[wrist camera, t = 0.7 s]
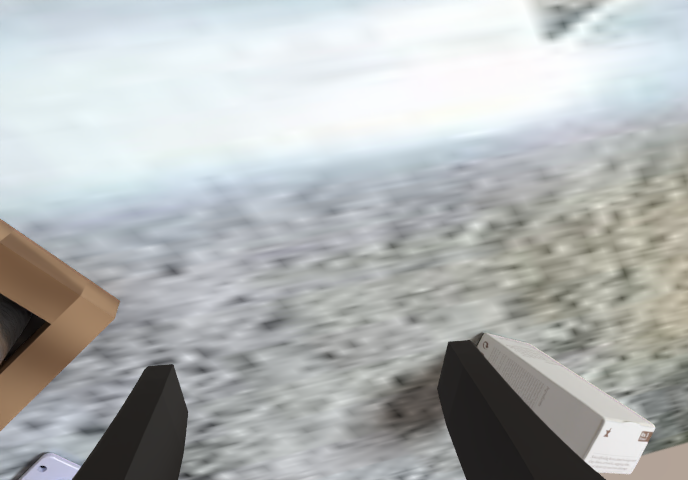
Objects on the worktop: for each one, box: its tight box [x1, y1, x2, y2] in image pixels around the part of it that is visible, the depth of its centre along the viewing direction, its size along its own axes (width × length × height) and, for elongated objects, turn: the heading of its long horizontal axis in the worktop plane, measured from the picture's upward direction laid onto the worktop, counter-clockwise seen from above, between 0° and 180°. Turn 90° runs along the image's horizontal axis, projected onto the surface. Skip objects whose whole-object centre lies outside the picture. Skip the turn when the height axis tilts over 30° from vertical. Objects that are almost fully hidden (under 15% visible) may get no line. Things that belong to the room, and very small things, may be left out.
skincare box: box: [477, 333, 655, 474], centre depth 35 cm, size 6×4×12 cm
